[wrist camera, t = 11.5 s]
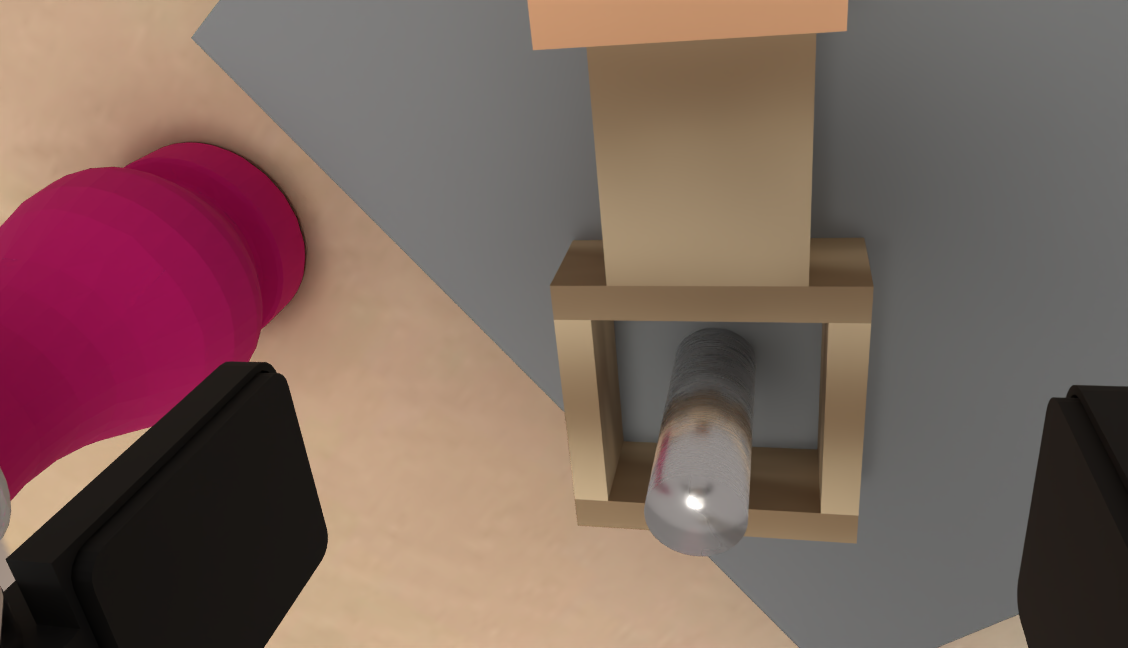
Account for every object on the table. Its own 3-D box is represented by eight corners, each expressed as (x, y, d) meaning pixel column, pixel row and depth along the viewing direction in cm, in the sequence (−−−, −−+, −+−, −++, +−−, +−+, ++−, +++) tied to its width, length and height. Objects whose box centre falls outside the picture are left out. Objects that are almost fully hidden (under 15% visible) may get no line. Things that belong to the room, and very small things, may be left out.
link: (850, 477, 28) (856, 543, 25) (595, 465, 30) (577, 525, 27) (889, -189, 20) (905, -191, 17) (533, -150, 22) (499, -146, 19)
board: (1447, 419, 24) (1462, 432, 23) (838, 674, 33) (839, 687, 32) (720, -648, 17) (719, -662, 17) (202, 33, 26) (191, 37, 26)
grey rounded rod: (773, 370, 27) (769, 528, 21) (709, 410, 28) (689, 570, 22) (721, 313, 26) (702, 457, 20) (658, 356, 27) (623, 505, 21)
